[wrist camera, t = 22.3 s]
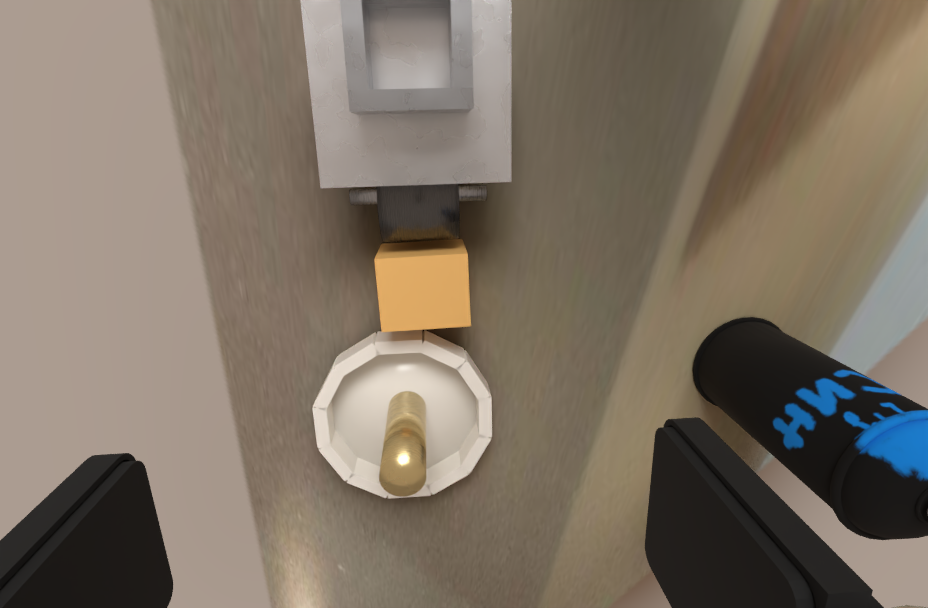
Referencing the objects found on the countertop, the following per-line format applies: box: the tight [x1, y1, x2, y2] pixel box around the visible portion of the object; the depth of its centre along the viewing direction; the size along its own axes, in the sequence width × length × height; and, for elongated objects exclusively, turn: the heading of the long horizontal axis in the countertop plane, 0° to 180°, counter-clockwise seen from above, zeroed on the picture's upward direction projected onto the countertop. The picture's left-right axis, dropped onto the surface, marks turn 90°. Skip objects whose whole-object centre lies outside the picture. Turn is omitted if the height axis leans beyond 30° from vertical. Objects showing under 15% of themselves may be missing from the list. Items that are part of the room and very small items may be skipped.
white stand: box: [301, 0, 511, 242], centre depth 31 cm, size 11×16×10 cm
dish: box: [313, 330, 492, 499], centre depth 41 cm, size 13×13×3 cm
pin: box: [379, 391, 426, 497], centre depth 37 cm, size 3×3×9 cm
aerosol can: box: [693, 317, 928, 540], centre depth 34 cm, size 8×8×20 cm
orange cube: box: [374, 239, 471, 332], centre depth 37 cm, size 6×5×6 cm
